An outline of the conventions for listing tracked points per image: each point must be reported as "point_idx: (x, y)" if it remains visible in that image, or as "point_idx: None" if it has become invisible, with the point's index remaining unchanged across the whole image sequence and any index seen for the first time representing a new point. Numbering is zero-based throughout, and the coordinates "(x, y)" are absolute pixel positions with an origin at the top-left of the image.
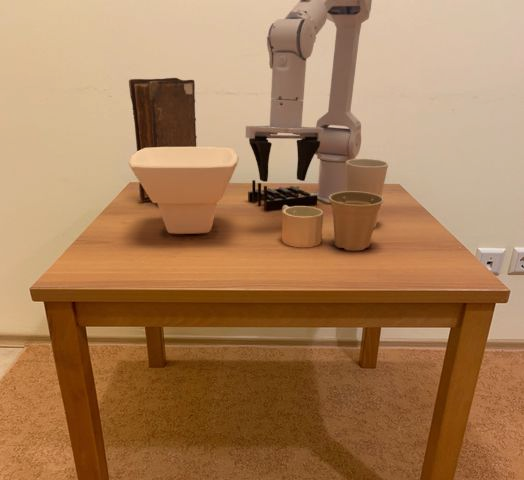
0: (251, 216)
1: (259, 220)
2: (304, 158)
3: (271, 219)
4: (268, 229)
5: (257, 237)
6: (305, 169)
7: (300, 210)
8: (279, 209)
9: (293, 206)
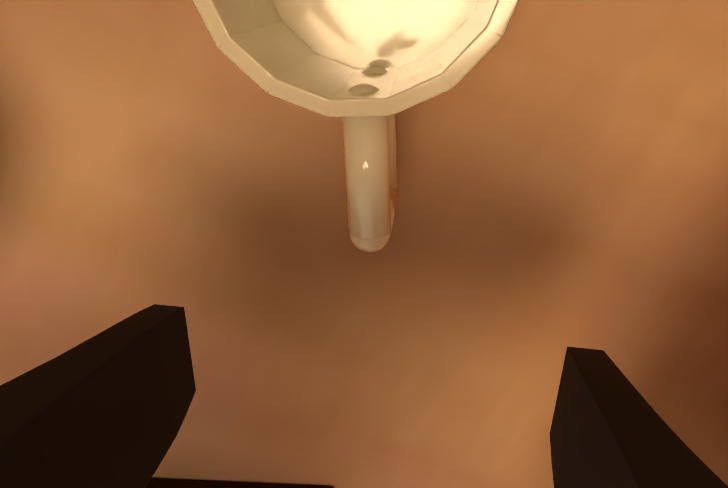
0: (438, 453)
1: (430, 385)
2: (38, 461)
3: (361, 375)
4: (458, 235)
5: (595, 128)
6: (97, 353)
7: (310, 85)
8: (256, 484)
9: (174, 485)
